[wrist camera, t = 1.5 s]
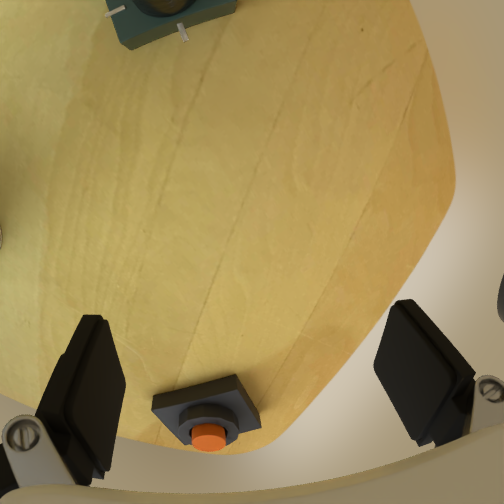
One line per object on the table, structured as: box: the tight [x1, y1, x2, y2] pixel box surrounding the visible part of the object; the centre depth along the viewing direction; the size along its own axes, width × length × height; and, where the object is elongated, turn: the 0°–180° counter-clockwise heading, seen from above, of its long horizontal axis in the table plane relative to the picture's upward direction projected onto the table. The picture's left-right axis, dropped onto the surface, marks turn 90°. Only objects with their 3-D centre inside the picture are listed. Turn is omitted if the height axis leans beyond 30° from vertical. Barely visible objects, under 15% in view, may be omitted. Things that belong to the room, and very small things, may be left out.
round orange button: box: [192, 423, 226, 452], centre depth 30 cm, size 4×4×2 cm
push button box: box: [151, 374, 262, 446], centre depth 32 cm, size 10×8×4 cm
